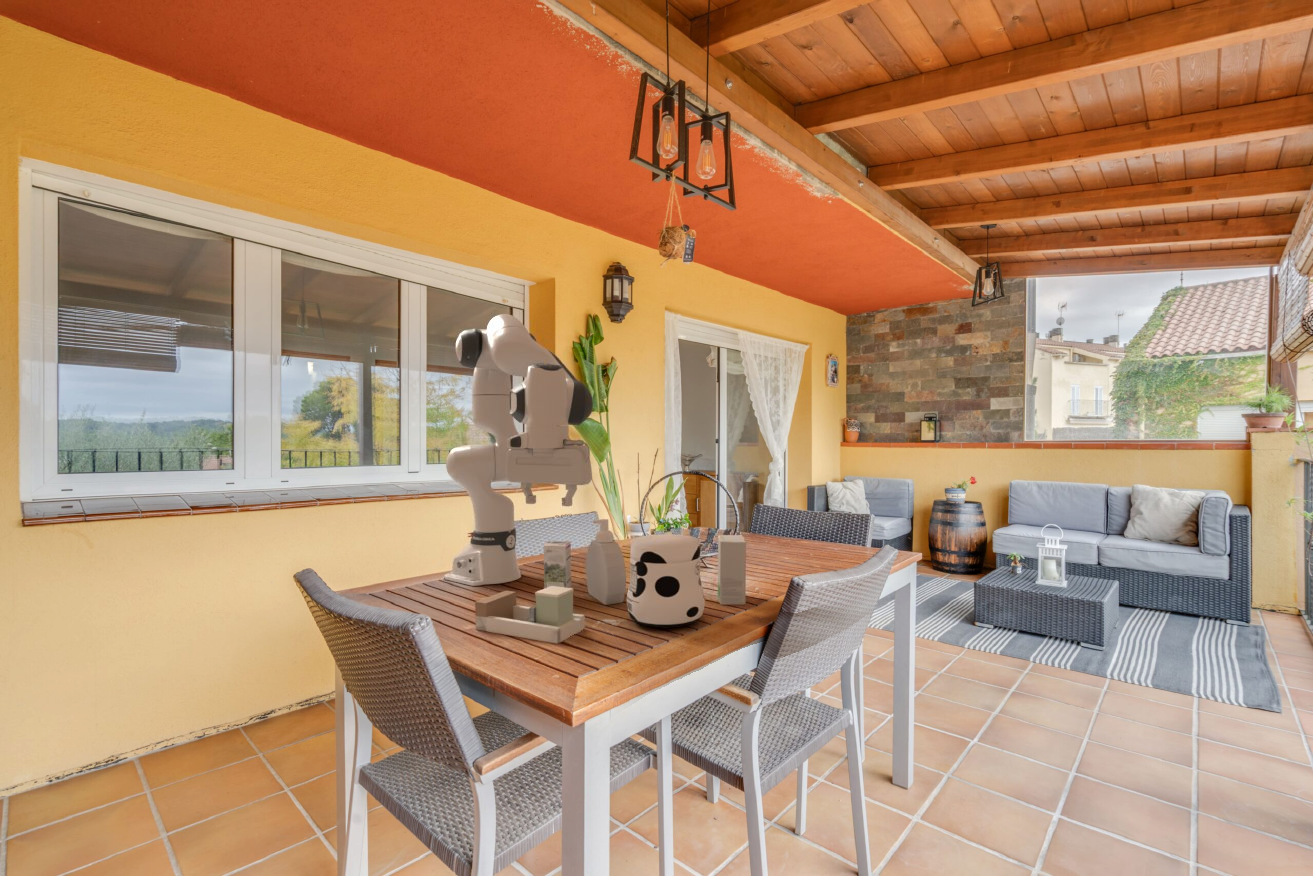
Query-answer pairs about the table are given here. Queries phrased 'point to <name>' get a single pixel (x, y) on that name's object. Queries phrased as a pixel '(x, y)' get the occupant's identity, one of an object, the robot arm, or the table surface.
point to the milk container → (665, 581)
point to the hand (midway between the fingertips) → (548, 504)
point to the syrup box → (557, 564)
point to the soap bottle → (605, 567)
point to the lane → (520, 620)
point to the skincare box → (731, 569)
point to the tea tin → (554, 606)
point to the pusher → (532, 615)
